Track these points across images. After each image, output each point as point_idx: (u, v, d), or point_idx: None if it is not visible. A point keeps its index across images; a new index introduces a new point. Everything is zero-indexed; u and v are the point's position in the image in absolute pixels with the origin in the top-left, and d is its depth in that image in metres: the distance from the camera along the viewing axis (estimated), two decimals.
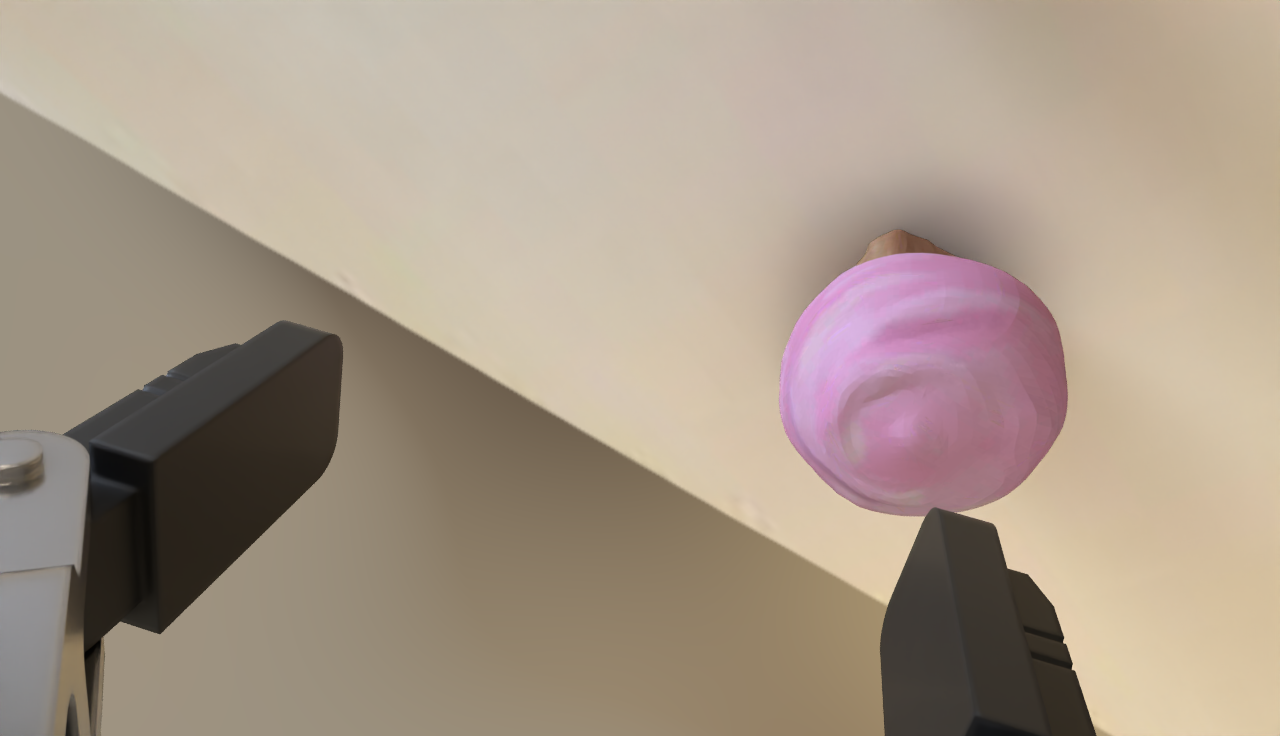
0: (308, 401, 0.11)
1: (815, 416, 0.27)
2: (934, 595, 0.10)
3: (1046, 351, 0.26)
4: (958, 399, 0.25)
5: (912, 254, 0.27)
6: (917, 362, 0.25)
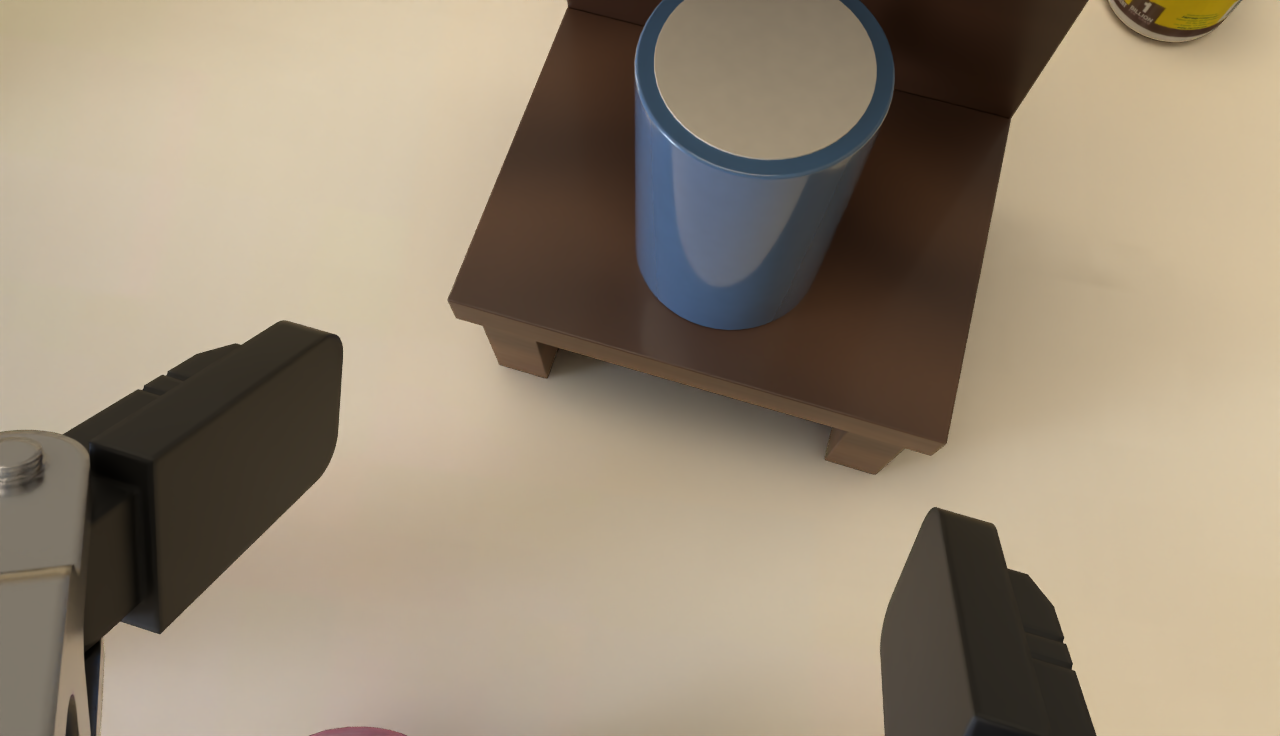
0: (307, 400, 0.11)
1: None
2: (934, 595, 0.10)
3: None
4: None
5: None
6: None
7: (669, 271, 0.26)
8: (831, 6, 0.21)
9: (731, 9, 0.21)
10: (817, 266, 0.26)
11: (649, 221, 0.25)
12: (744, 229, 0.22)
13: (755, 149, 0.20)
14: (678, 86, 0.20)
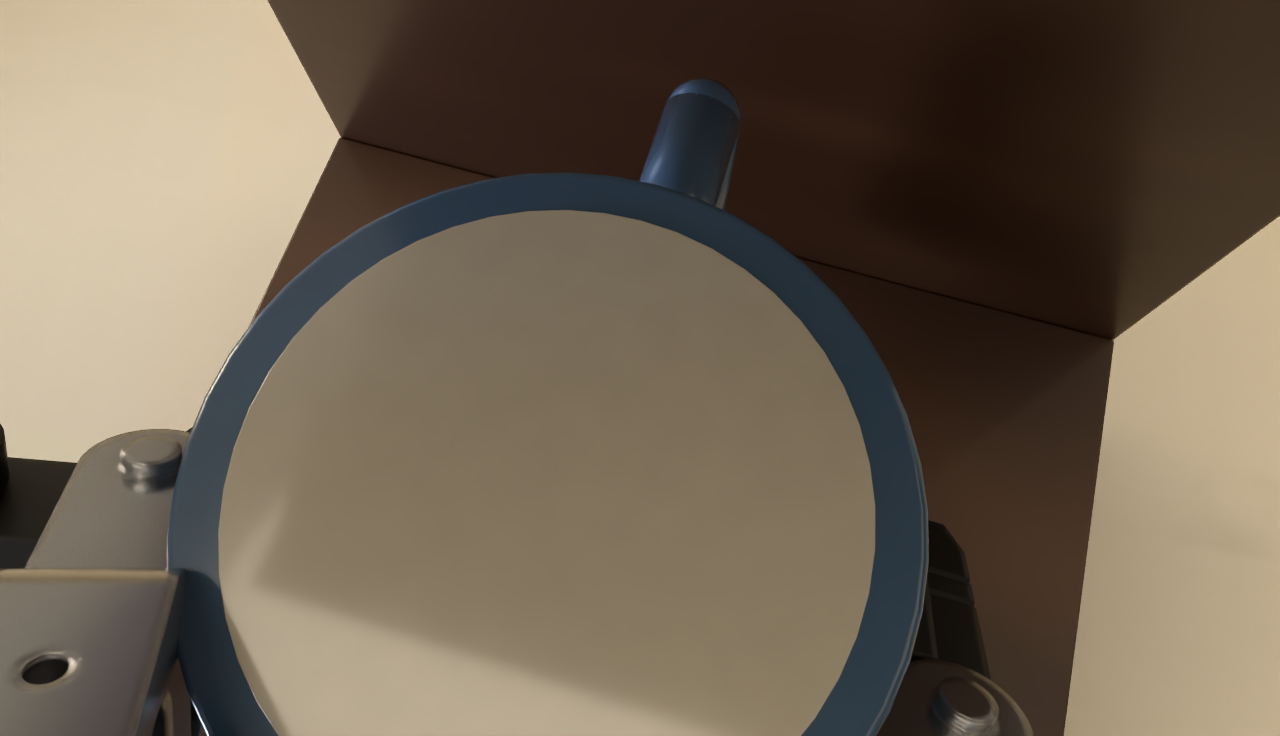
0: None
1: None
2: None
3: None
4: None
5: None
6: None
7: None
8: (747, 308, 0.08)
9: (470, 315, 0.08)
10: None
11: None
12: None
13: None
14: (284, 579, 0.07)
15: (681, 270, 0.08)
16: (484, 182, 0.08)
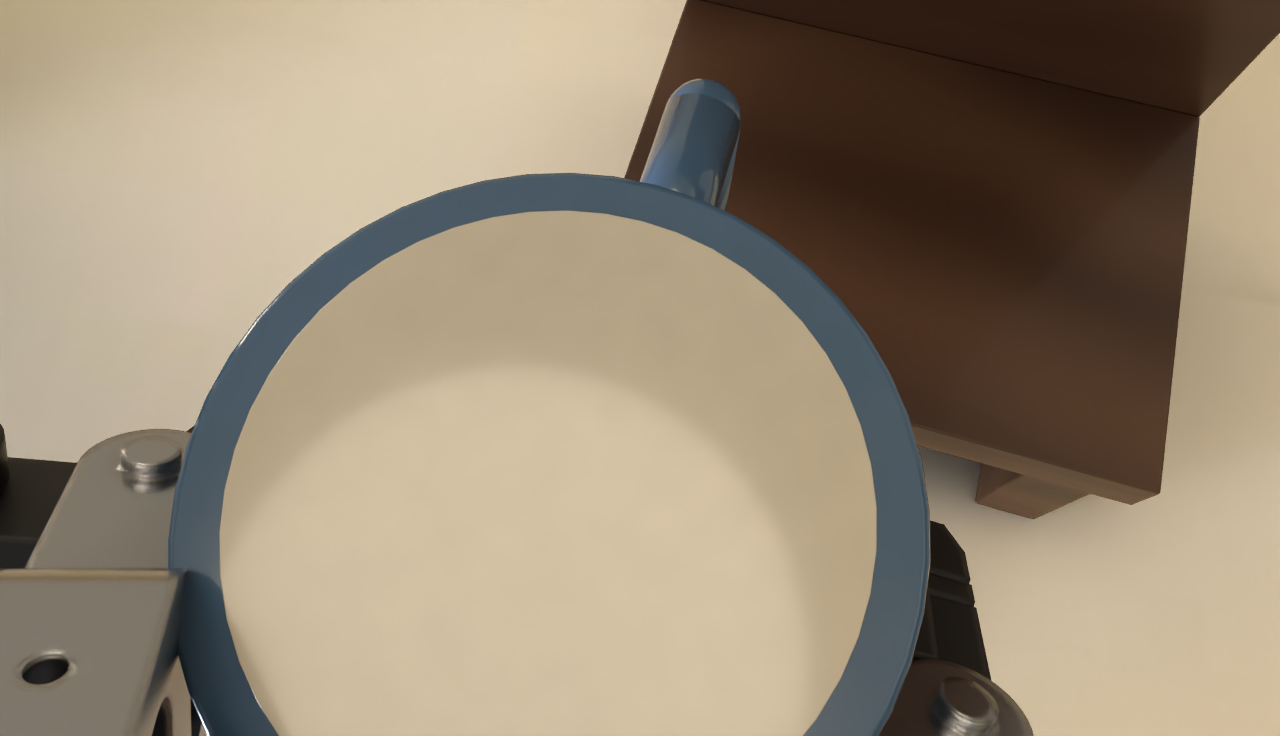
0: None
1: None
2: None
3: None
4: None
5: None
6: None
7: None
8: (748, 309, 0.08)
9: (471, 316, 0.08)
10: None
11: None
12: None
13: None
14: (284, 579, 0.07)
15: (682, 271, 0.08)
16: (485, 183, 0.08)
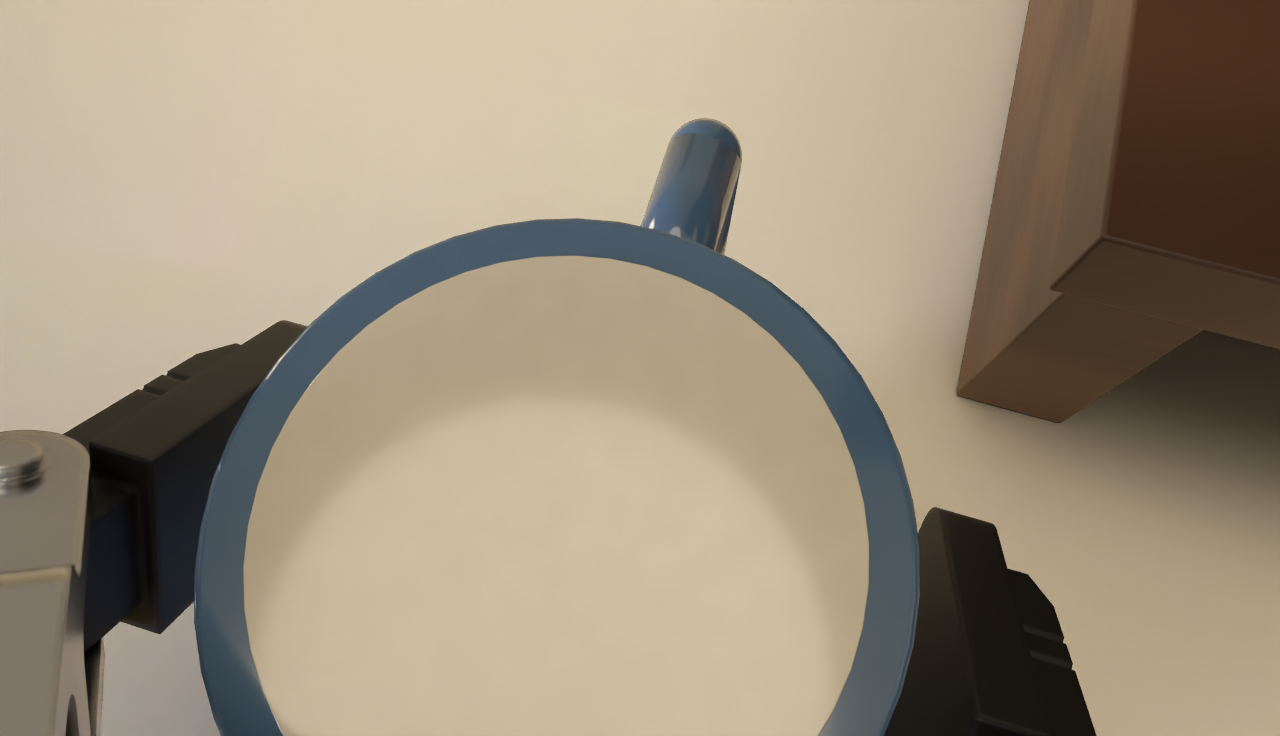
0: None
1: None
2: (934, 595, 0.10)
3: None
4: None
5: None
6: None
7: None
8: (747, 351, 0.08)
9: (482, 356, 0.08)
10: None
11: None
12: None
13: None
14: (306, 612, 0.07)
15: (684, 314, 0.08)
16: (495, 227, 0.08)
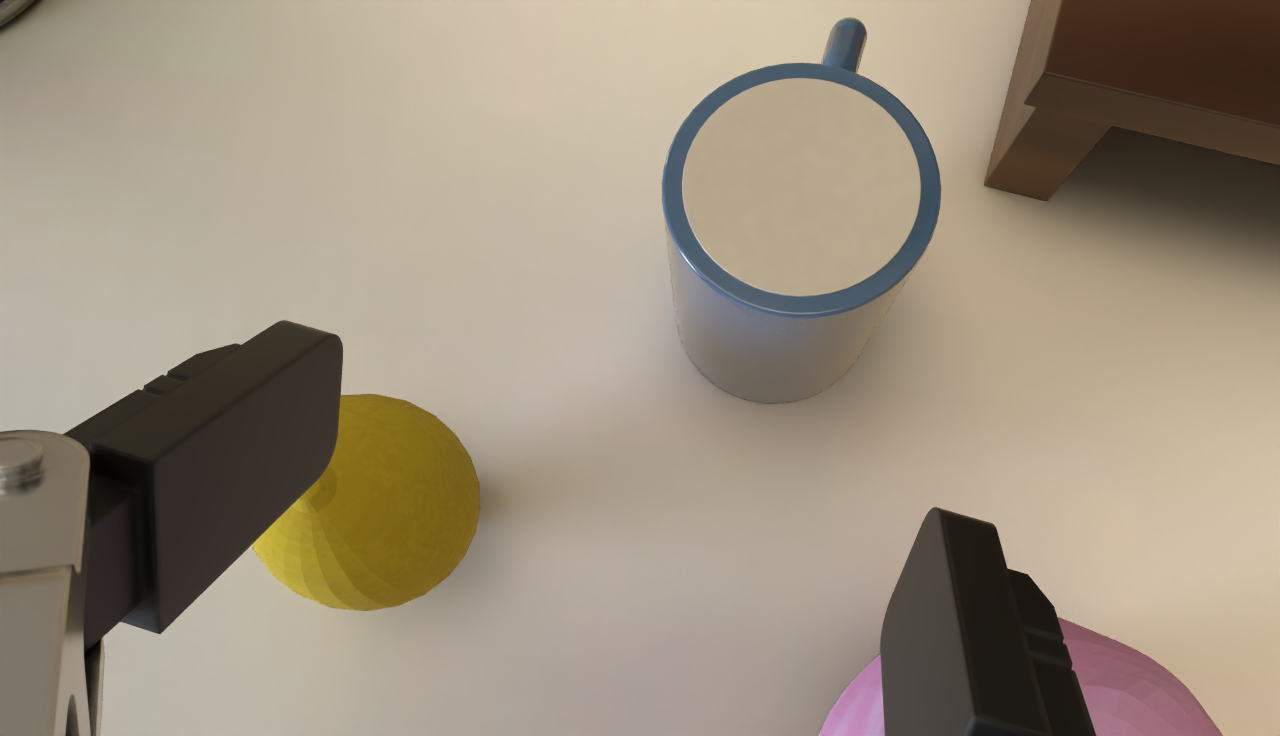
0: (308, 400, 0.11)
1: None
2: (934, 595, 0.10)
3: None
4: None
5: None
6: None
7: (707, 358, 0.25)
8: (873, 115, 0.20)
9: (765, 119, 0.20)
10: (862, 349, 0.25)
11: (684, 315, 0.24)
12: (779, 346, 0.21)
13: (787, 284, 0.19)
14: (707, 211, 0.20)
15: (847, 101, 0.20)
16: (767, 67, 0.20)
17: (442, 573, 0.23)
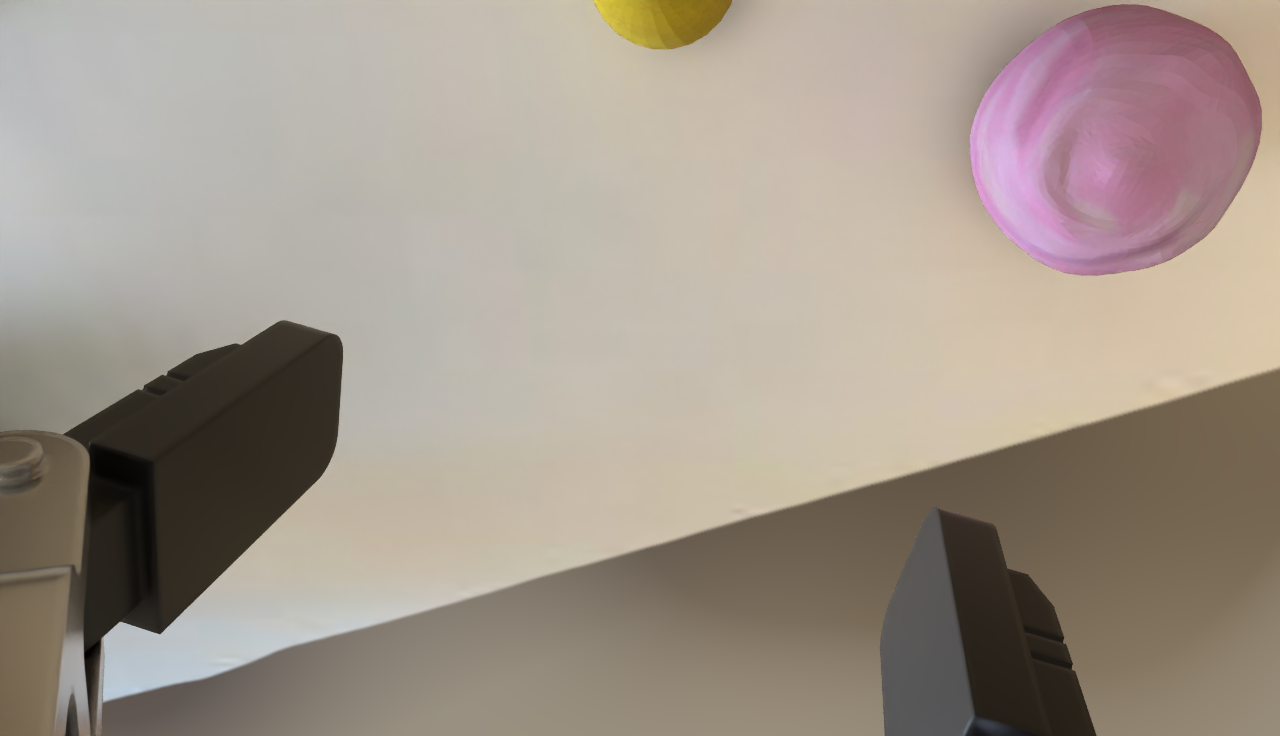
0: (308, 401, 0.11)
1: (1054, 232, 0.30)
2: (934, 595, 0.10)
3: (1141, 22, 0.28)
4: (1114, 110, 0.28)
5: None
6: (1057, 123, 0.28)
7: None
8: None
9: None
10: None
11: None
12: None
13: None
14: None
15: None
16: None
17: (721, 17, 0.34)
